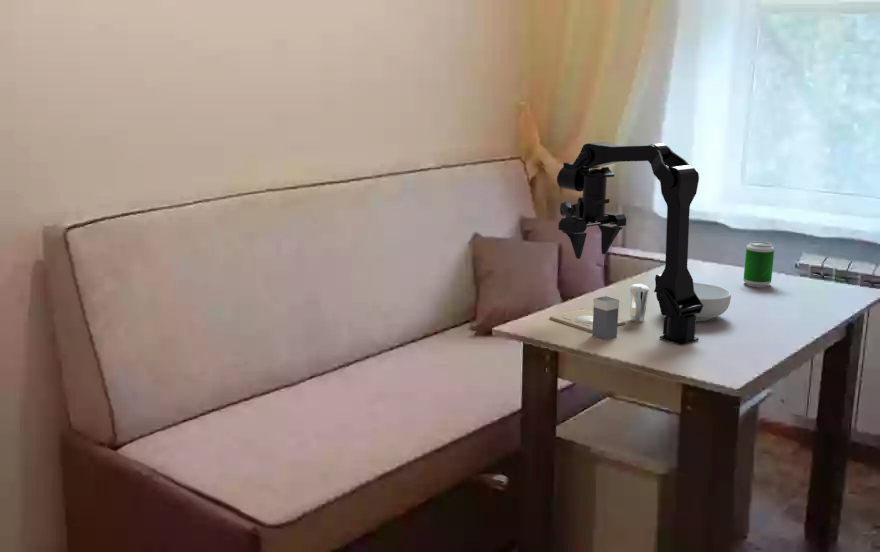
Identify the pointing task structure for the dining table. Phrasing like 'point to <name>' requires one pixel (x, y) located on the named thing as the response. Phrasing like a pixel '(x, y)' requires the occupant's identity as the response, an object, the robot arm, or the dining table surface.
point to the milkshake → (638, 302)
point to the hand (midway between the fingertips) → (591, 256)
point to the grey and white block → (605, 317)
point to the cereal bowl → (711, 300)
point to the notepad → (579, 319)
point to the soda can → (758, 264)
